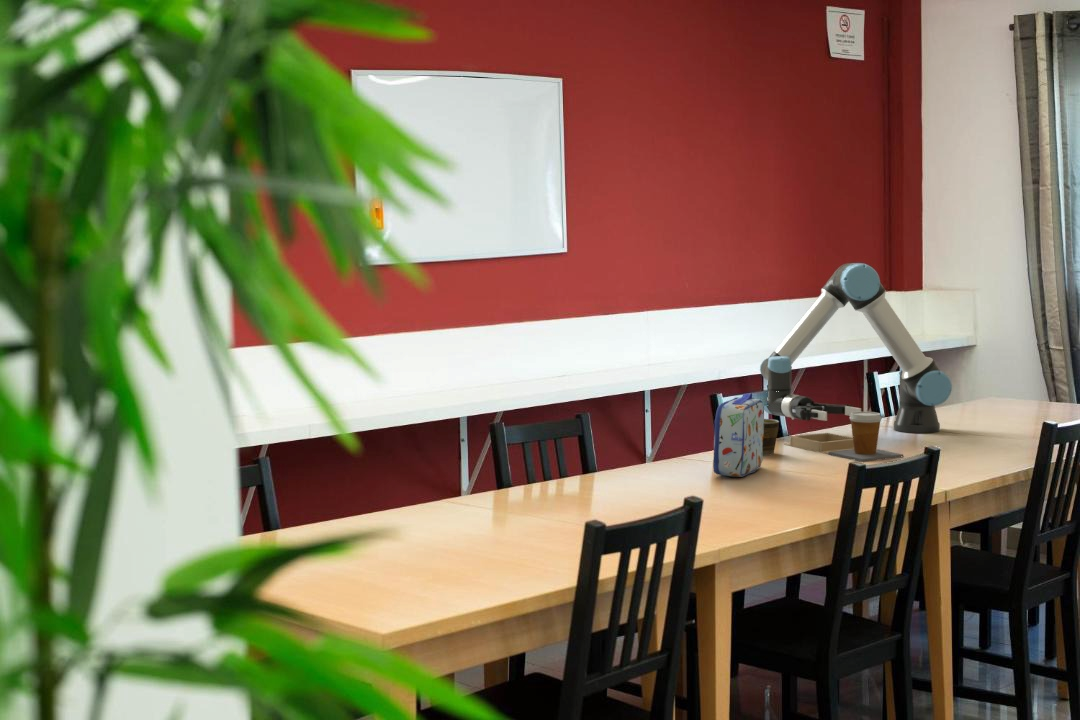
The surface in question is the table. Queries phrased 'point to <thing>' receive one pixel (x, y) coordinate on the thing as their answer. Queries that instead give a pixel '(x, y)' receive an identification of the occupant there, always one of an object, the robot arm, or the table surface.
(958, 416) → the table surface
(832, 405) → the robot arm
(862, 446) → the disposable coffee cup
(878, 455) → the charcoal mat
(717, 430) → the lunch box
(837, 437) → the tan shallow tray
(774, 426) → the ceramic cup
